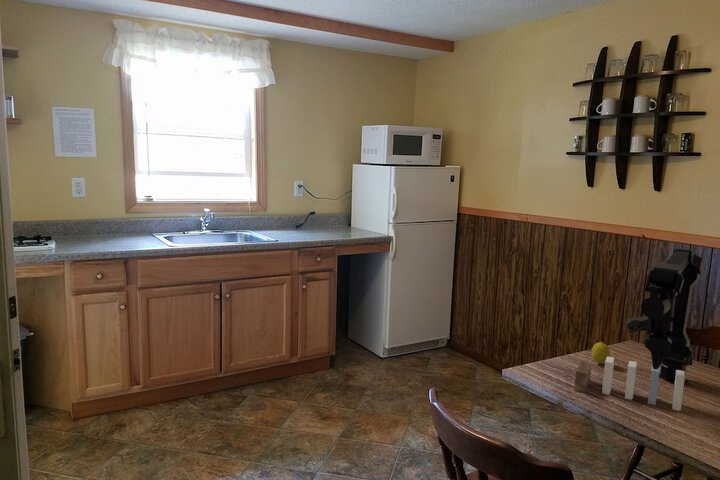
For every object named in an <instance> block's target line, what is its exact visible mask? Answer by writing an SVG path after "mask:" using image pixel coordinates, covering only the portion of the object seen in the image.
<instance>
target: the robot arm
mask: <svg viewBox="0 0 720 480" xmlns="http://www.w3.org/2000/svg"><path fill="white" fill-rule="evenodd" d="M704 271H705V262H704V260H703V258H702V257H701V256H699V255H697V254H696V253H695V251H694V250H692V249H685V248H679V247H678V248H675V249H673V252H672V254H671V255H670V257H669V258H668V259H667V260H666V261H665V263H661V264H657V265H655V266H654V267H653V268H652V269H650V271H649V274H648V277H647V279H646V283H645V287H644V292H646V293H649V296H648V297H647V298H645V299H644V300H642V302H641V304H640V309H641V313H642V314H643V315H644V316H638V317H632V318H628V319H627V320H626V321H625V323H626V326H627V327H626V328H627V330H628V333H630V334H634V333H636V332H644V331H646V333H647V335H646V336H645V341H644V347H645V348H646V349H647V350H648V351H649V352H650V354H651V355H650V356H651V362H652V365H653V369H658V368H659V367H660V371H659V378H661V379H663V380H665V381H666V382H669V383H671V384H675V377H676V370H681V371H685V372H686V371H687V370H686V369H687V367H688V366H693V361H694V355H693V351H692V347H691V346H690V343H691V340H690V339H689V336H688V334H687V332H686V330H687V323H688V318H689V313H690V312H689V311H690V305H691V300H692V292H693V287H694V286H695V284H697V283H698V282H699V280H700V279H701V275H703V273H704ZM689 381H690V380H689V379H688V378H686V377H685V378H684V383H688V382H689Z"/></svg>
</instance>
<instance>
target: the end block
mask: <svg viewBox="0 0 720 480" xmlns="http://www.w3.org/2000/svg"><path fill="white" fill-rule="evenodd" d="M591 372H592V362H588V361H584V360H581V361H580V362H579V364H578V366H577V369H576V370H575V377H574V388H573V391H577V392H581V393H586V391H587V388H588V387H589V384H590V382H591V374H592V373H591Z"/></svg>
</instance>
